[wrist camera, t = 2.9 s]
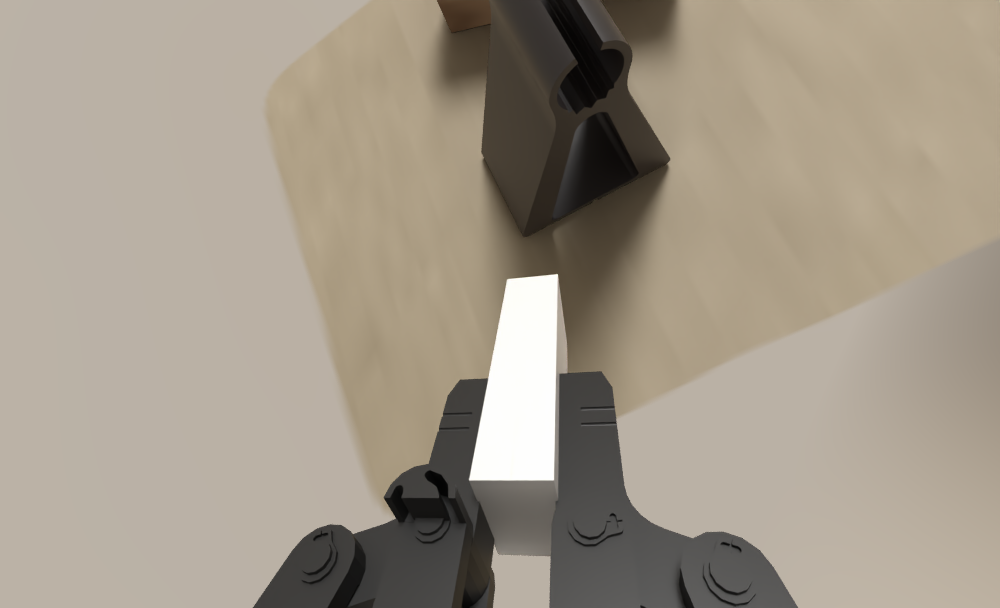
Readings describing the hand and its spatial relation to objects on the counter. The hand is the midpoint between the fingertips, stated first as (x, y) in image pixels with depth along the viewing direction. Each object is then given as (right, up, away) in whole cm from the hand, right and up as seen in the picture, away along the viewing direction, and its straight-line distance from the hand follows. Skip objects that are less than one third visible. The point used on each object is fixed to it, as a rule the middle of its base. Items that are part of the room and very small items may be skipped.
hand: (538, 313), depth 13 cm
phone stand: (+3, +9, +12) cm, 15 cm away
